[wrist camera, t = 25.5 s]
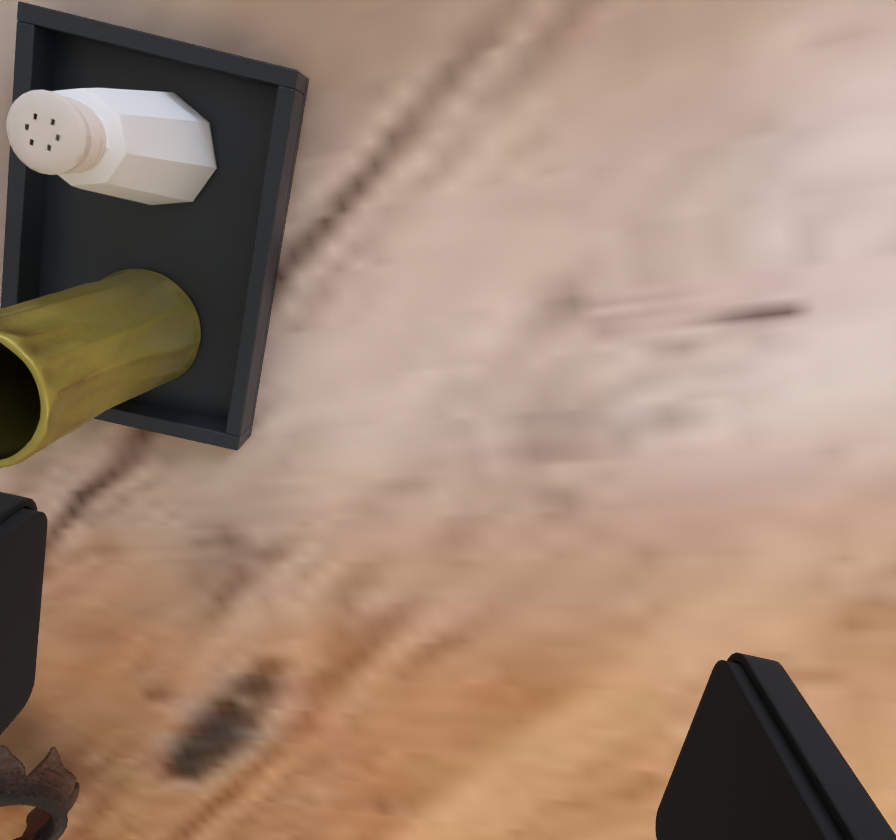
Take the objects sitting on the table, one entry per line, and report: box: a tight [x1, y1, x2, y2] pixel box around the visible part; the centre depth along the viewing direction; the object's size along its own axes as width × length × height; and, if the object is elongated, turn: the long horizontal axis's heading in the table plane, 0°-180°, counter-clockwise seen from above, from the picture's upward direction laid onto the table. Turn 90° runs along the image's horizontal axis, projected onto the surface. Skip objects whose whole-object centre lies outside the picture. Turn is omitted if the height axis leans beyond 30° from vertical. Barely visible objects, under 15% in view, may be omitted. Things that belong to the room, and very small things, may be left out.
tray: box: [1, 1, 309, 450], centre depth 37 cm, size 19×13×2 cm
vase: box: [0, 269, 201, 468], centre depth 32 cm, size 6×6×14 cm
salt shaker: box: [6, 88, 217, 205], centre depth 31 cm, size 5×5×11 cm
